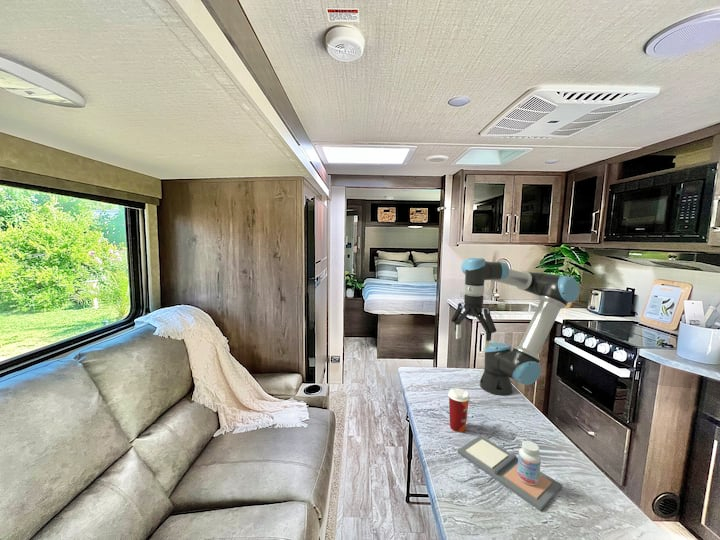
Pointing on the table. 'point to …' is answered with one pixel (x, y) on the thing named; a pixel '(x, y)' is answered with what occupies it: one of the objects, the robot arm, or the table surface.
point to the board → (509, 471)
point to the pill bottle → (529, 463)
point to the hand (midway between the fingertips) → (471, 343)
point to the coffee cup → (458, 409)
